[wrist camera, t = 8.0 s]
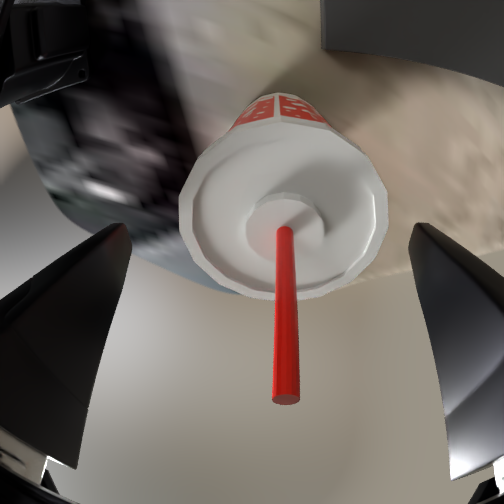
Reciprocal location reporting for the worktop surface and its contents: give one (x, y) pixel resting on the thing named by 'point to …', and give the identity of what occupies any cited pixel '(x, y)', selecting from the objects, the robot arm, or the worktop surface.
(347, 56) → the worktop surface
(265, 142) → the beverage cup
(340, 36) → the scale
